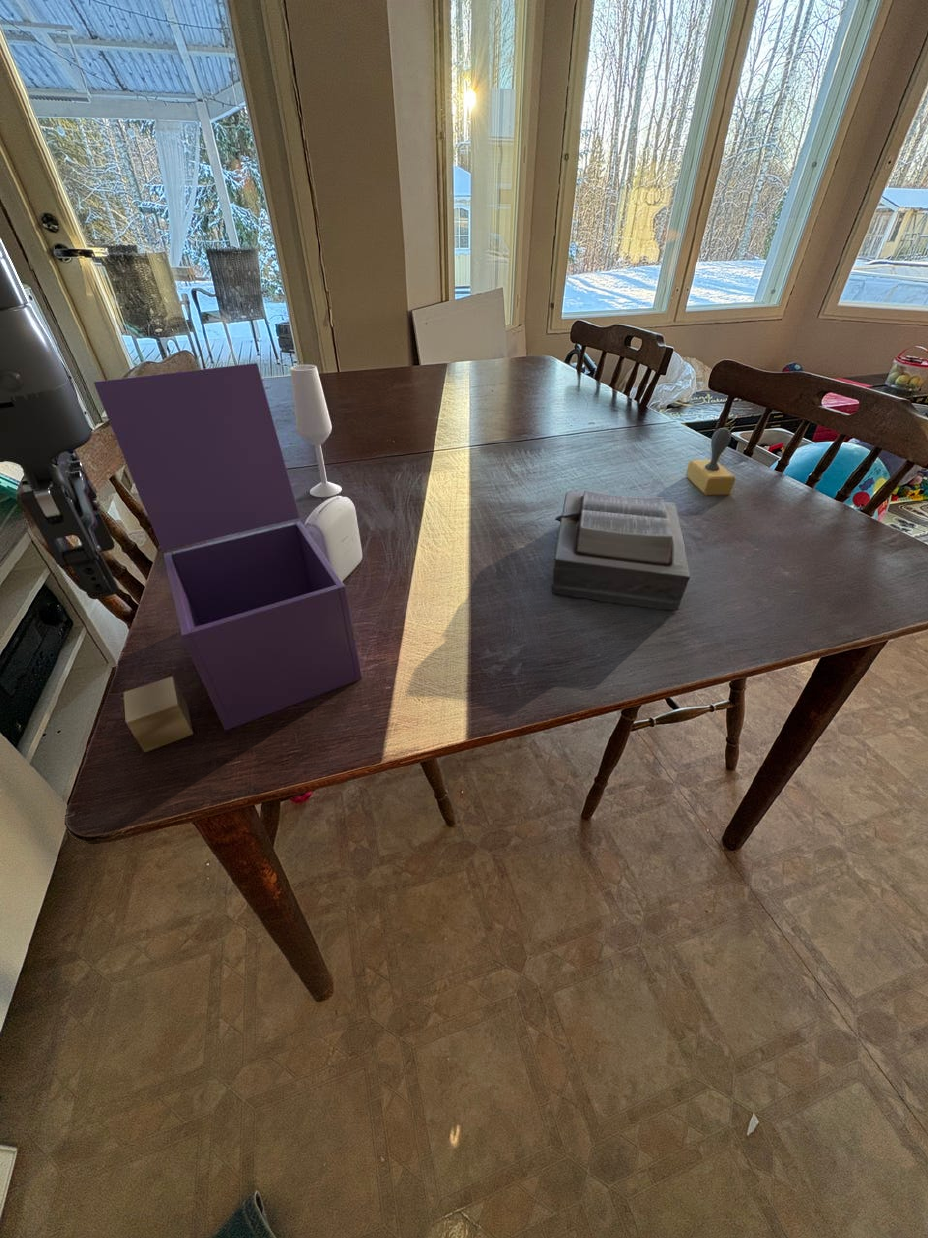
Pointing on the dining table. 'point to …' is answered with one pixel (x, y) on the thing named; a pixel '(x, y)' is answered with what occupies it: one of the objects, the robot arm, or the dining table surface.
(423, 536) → the dining table surface
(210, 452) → the lid
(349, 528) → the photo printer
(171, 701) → the block
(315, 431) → the champagne flute
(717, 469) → the rubber stamp
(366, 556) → the dining table surface
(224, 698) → the box
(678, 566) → the bible
